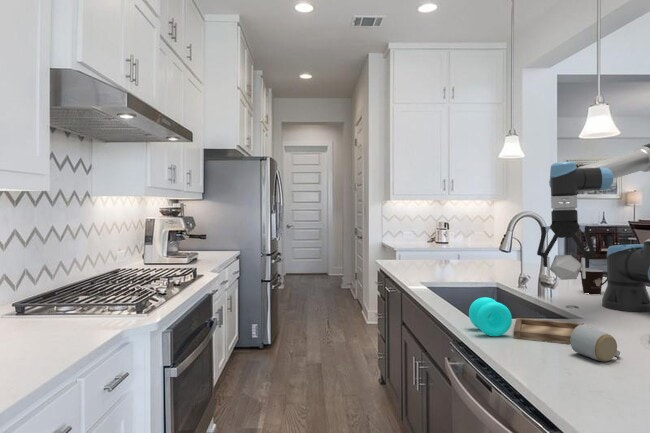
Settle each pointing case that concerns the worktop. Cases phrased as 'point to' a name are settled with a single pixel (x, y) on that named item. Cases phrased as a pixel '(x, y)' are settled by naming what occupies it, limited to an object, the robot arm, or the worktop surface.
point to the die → (565, 267)
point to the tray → (544, 330)
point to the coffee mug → (592, 281)
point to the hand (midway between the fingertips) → (566, 277)
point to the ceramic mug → (593, 343)
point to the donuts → (497, 320)
